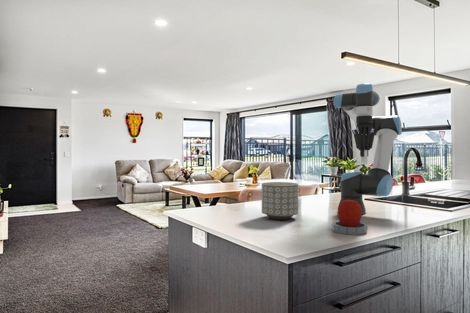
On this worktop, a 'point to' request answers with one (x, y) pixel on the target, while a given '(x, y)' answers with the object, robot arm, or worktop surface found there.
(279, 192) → the planter
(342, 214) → the apple
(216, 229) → the worktop surface
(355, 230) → the grey shallow round dish
